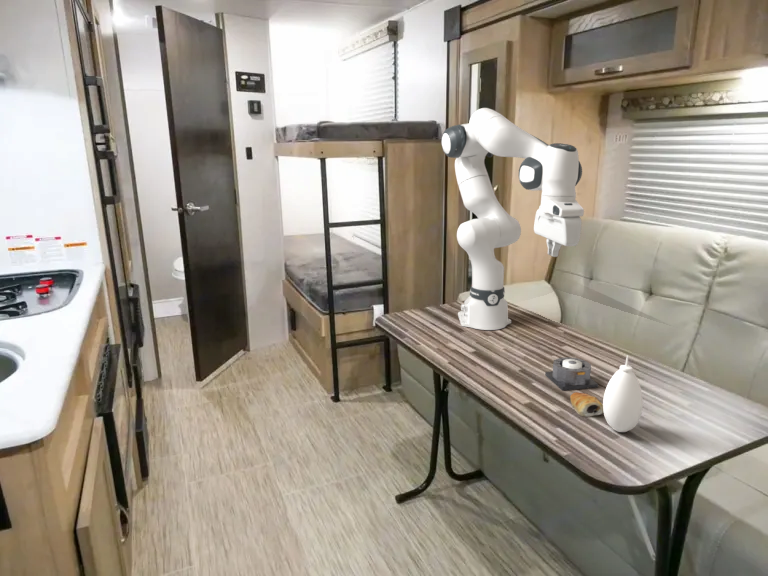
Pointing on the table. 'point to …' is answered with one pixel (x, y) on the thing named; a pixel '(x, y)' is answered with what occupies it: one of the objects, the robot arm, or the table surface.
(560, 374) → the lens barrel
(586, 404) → the pastry
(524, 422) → the table surface
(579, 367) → the cylinder with grey knob
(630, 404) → the white air blower bulb
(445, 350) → the table surface
